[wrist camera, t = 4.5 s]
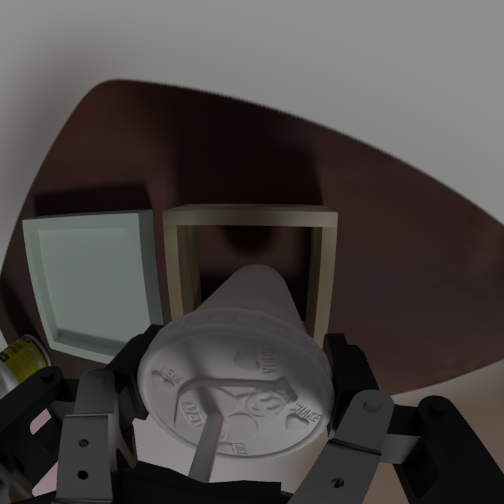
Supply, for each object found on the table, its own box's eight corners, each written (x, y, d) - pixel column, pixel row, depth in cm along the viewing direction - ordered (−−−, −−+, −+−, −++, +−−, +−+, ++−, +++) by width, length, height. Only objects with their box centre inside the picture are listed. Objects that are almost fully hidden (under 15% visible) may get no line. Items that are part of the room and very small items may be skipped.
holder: (323, 205, 19) (337, 212, 14) (314, 329, 21) (322, 363, 17) (186, 204, 20) (162, 211, 15) (194, 325, 22) (177, 356, 18)
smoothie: (185, 273, 17) (25, 448, 4) (277, 220, 16) (259, 431, 2) (240, 352, 18) (187, 555, 5) (327, 311, 17) (386, 537, 3)
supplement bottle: (35, 329, 24) (-17, 370, 15) (58, 367, 25) (13, 414, 16) (18, 335, 25) (-29, 371, 16) (39, 370, 26) (-2, 411, 17)
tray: (152, 209, 20) (138, 213, 17) (169, 358, 23) (160, 374, 21) (39, 216, 21) (22, 220, 18) (62, 337, 24) (50, 348, 22)
